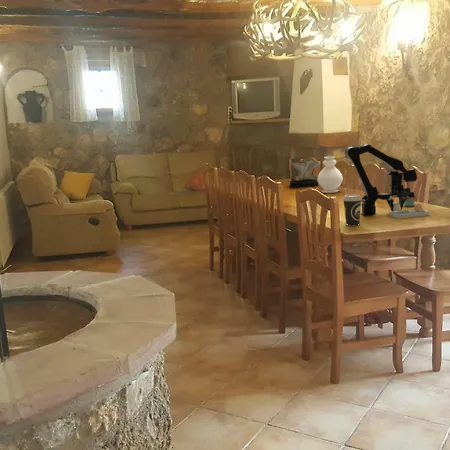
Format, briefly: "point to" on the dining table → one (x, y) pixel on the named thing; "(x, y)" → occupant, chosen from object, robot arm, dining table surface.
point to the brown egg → (418, 207)
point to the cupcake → (410, 201)
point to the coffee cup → (352, 208)
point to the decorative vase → (330, 176)
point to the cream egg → (396, 207)
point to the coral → (304, 174)
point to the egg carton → (408, 213)
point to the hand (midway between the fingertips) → (396, 210)
